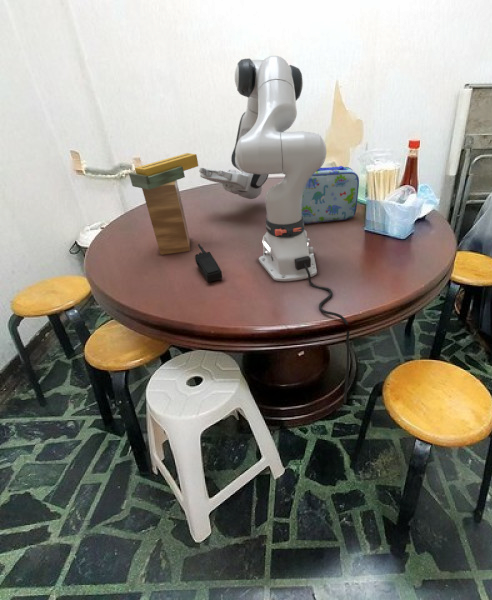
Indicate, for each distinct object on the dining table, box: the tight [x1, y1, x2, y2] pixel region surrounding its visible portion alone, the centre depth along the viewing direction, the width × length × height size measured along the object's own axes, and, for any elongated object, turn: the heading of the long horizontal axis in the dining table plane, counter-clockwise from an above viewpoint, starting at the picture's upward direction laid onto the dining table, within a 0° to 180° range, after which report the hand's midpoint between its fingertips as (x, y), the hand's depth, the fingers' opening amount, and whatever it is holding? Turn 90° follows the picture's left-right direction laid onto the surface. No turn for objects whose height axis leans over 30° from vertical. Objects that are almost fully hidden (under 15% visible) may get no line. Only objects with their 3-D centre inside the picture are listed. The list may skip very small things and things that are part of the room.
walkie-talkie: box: [194, 243, 223, 283], centre depth 112 cm, size 6×6×20 cm
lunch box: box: [302, 165, 360, 224], centre depth 140 cm, size 26×11×21 cm, turn 101°
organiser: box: [128, 166, 191, 256], centre depth 120 cm, size 15×14×28 cm
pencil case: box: [134, 152, 199, 176], centre depth 116 cm, size 22×4×4 cm, turn 149°
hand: (210, 171), depth 132 cm, fingers open, 8 cm apart
